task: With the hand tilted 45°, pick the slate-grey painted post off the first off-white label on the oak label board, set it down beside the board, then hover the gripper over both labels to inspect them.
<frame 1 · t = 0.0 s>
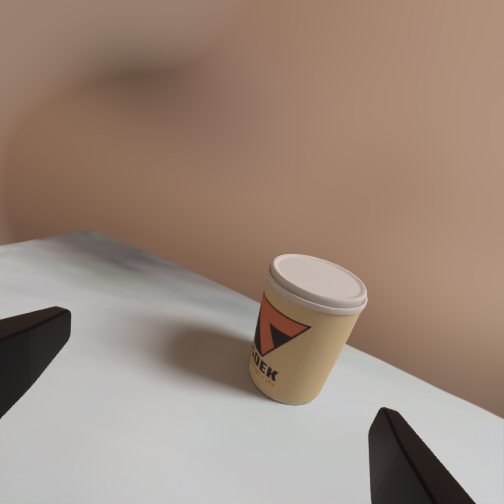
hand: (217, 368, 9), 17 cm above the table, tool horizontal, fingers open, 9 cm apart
coffee cup: (283, 376, 34), on the table
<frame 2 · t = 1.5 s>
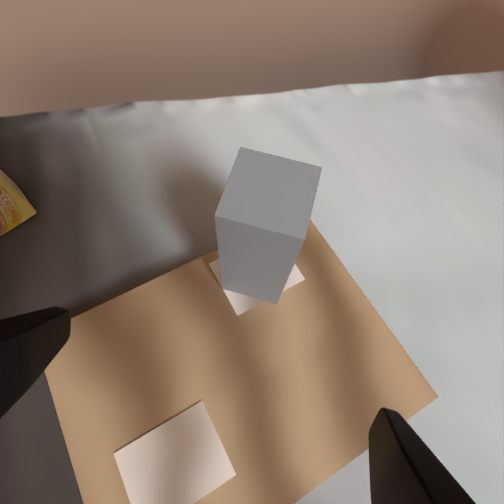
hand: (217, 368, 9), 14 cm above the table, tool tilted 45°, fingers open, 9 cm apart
slate post: (256, 271, 24), point 1 cm above the table, touching label board
label board: (234, 367, 22), on the table
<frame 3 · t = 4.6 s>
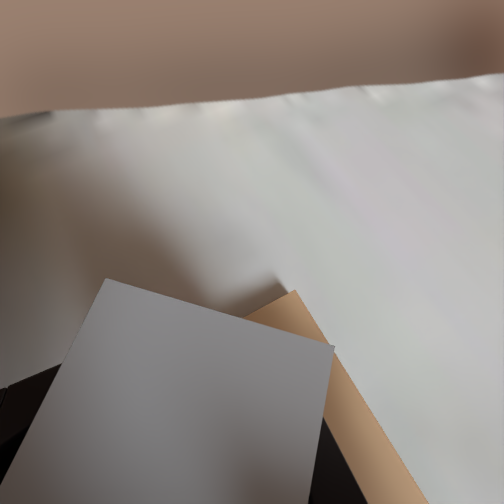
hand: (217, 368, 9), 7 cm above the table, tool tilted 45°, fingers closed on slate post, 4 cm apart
slate post: (213, 413, 14), point 1 cm above the table, touching gripper, label board
when the fingers open (7 cm above the table, at t = 9.3 s): slate post drops 1 cm, on the table.
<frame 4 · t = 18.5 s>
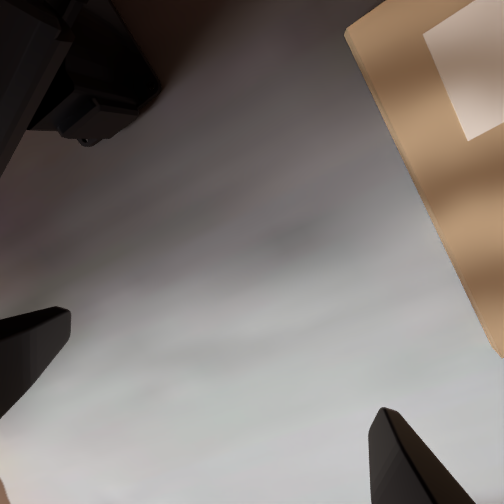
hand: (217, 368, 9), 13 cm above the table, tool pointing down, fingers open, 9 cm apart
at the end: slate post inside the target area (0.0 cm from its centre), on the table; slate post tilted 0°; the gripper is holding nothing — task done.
